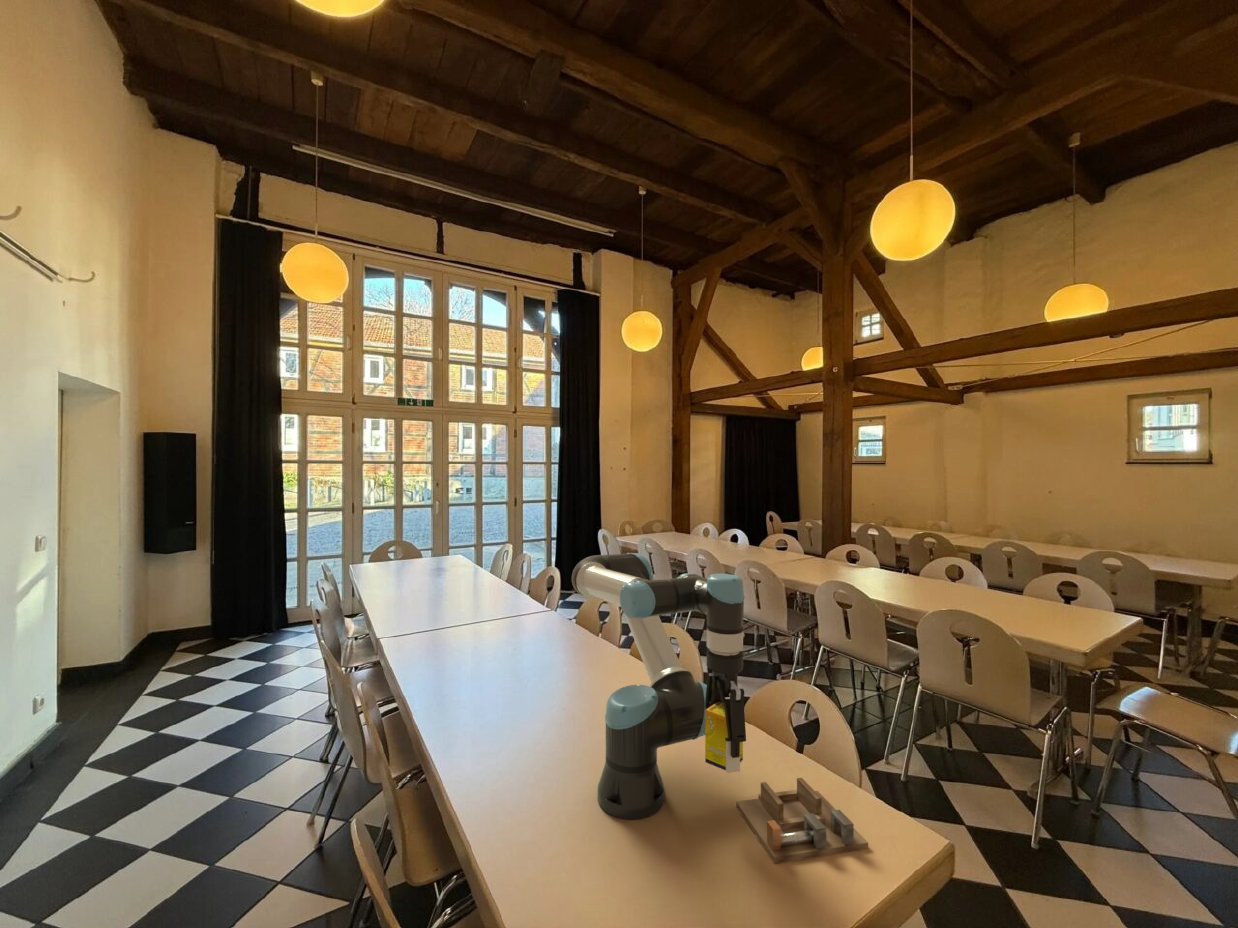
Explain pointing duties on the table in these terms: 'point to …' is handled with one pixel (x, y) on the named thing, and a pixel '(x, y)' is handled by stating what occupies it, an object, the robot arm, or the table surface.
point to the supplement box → (717, 736)
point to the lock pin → (786, 836)
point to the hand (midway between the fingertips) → (724, 758)
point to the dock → (800, 822)
